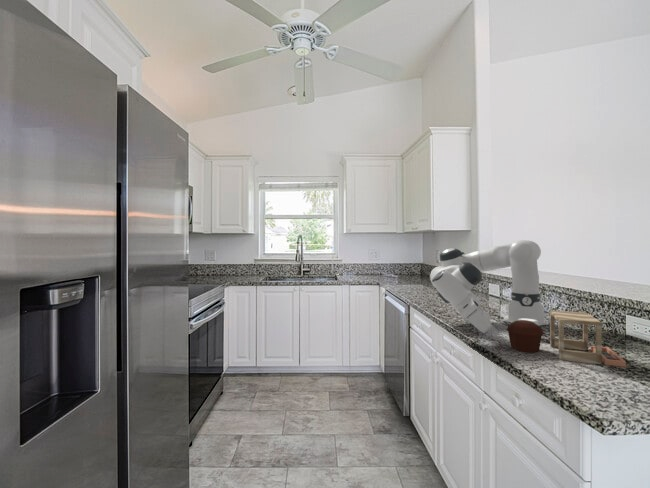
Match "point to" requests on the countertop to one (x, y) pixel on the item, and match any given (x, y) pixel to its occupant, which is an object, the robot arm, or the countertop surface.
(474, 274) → the robot arm
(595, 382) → the countertop surface
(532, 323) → the muffin
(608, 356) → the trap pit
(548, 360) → the countertop surface
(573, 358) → the tunnel
